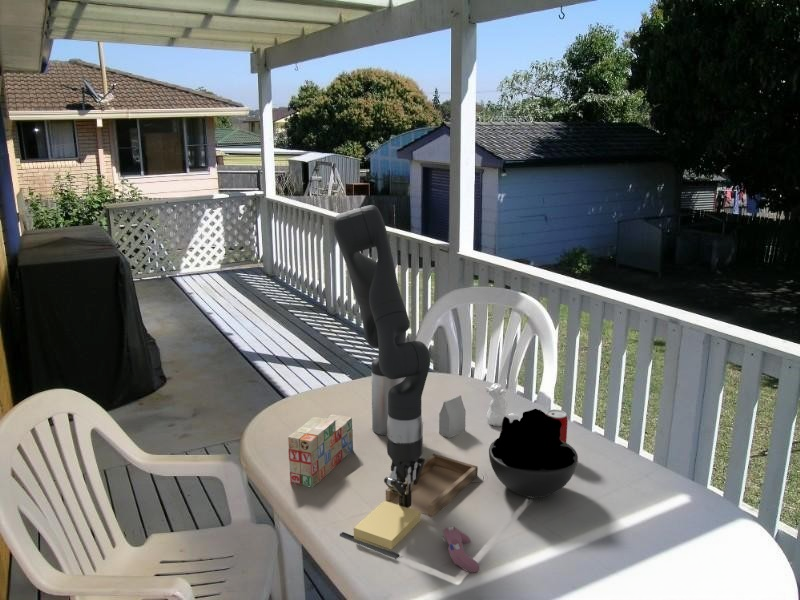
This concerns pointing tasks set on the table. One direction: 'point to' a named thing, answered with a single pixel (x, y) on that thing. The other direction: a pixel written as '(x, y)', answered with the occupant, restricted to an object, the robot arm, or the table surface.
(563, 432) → the soda can
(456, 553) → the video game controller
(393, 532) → the cover plate
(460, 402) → the grey gabled house block
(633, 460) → the table surface
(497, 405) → the sitting furry creature
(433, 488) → the walnut box
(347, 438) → the stack of blocks
